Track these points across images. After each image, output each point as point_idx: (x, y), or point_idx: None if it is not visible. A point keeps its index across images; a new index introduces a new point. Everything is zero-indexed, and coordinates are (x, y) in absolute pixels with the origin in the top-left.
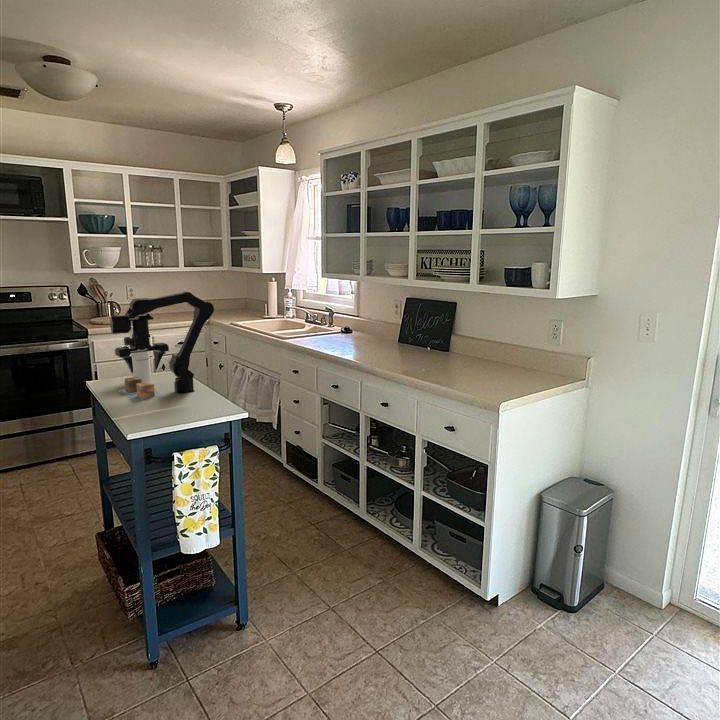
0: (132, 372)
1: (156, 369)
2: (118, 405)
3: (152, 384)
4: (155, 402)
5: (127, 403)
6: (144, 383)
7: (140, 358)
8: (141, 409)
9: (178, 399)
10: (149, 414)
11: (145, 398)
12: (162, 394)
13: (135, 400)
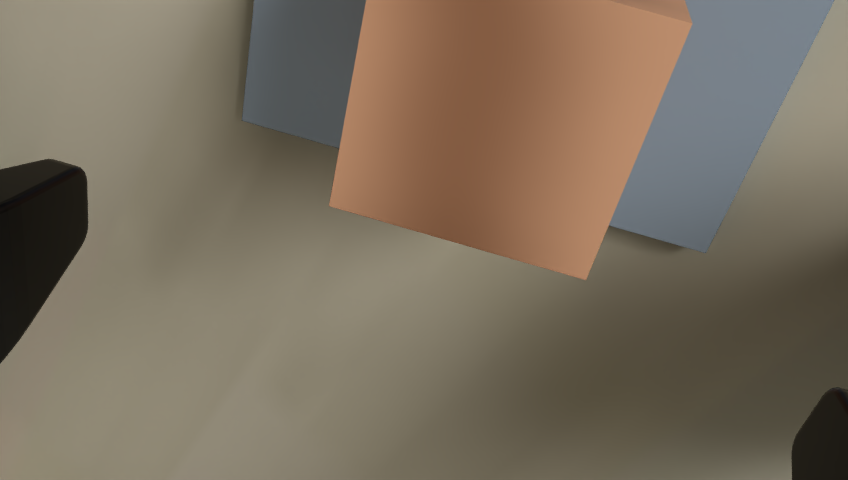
0: (57, 252)
1: (809, 449)
2: (43, 55)
3: (556, 271)
4: (449, 318)
5: (169, 70)
6: (503, 87)
7: None
8: (198, 386)
9: (713, 436)
10: None
11: None
12: (745, 169)
13: (272, 114)
